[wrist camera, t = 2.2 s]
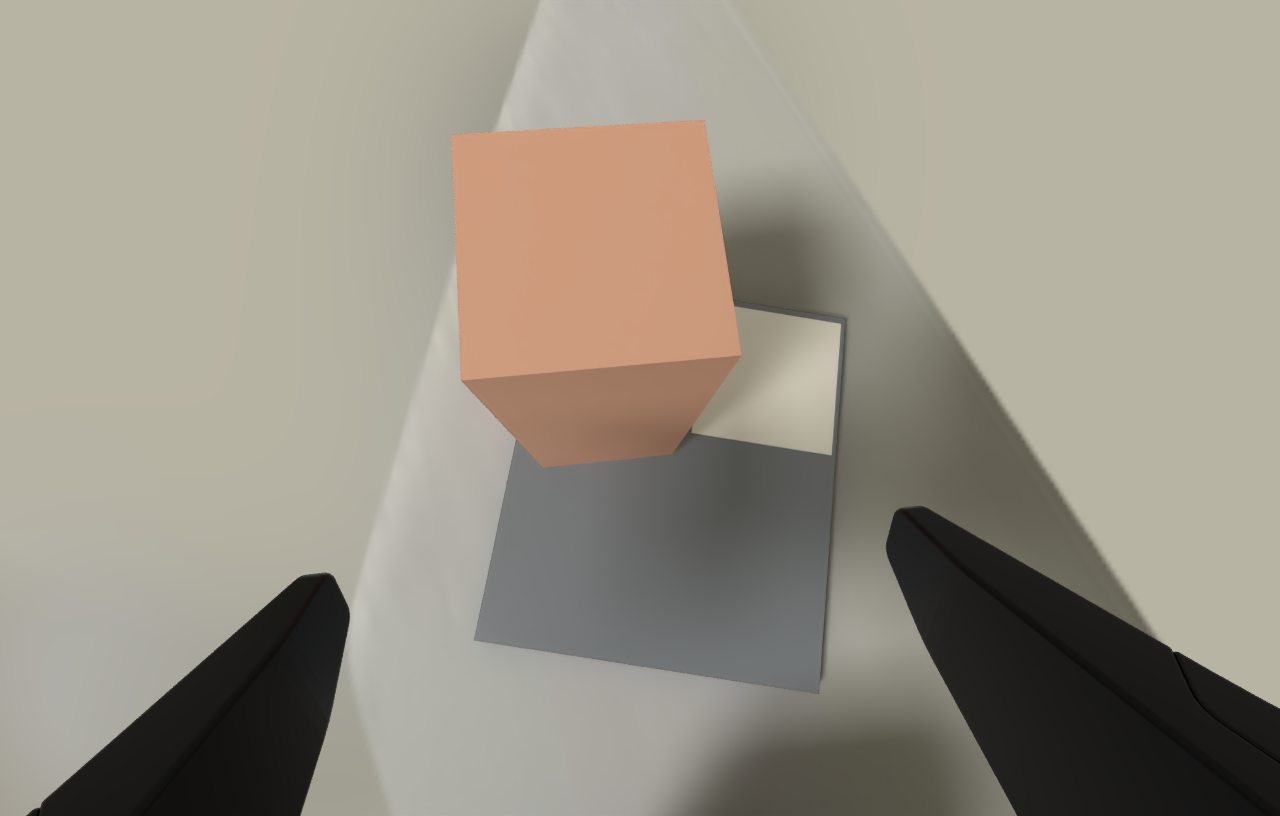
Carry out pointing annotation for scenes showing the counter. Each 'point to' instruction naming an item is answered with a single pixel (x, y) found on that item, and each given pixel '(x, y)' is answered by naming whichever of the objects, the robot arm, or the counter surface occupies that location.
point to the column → (592, 286)
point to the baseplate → (689, 528)
